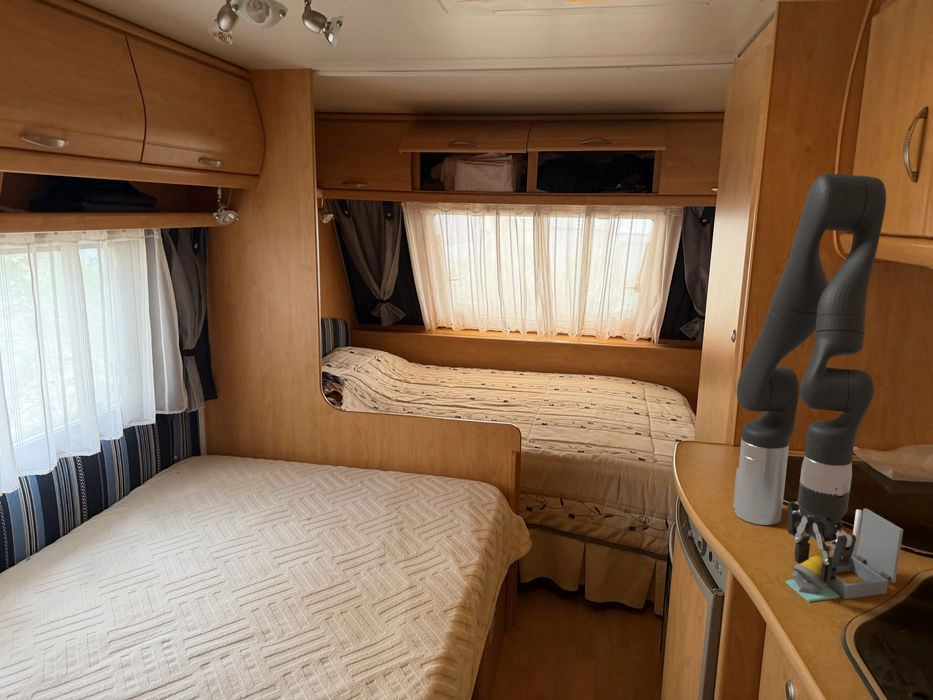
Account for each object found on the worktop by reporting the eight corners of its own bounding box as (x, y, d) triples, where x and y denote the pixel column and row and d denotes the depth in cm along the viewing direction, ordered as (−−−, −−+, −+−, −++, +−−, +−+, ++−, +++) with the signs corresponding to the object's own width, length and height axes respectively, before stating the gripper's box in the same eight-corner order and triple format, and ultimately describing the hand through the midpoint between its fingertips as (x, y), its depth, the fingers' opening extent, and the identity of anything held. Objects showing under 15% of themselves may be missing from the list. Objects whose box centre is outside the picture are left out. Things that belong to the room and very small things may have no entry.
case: (804, 567, 123) (811, 508, 121) (852, 561, 125) (860, 503, 123) (845, 599, 114) (853, 535, 111) (896, 592, 115) (906, 529, 113)
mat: (785, 582, 119) (785, 580, 119) (815, 578, 120) (815, 576, 120) (808, 601, 113) (808, 599, 113) (839, 597, 114) (839, 595, 114)
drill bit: (781, 582, 119) (813, 538, 120) (810, 603, 116) (841, 558, 118) (786, 579, 114) (819, 533, 116) (816, 600, 112) (849, 554, 113)
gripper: (777, 468, 118) (768, 553, 122) (836, 503, 104) (824, 598, 108) (814, 464, 119) (804, 549, 123) (877, 499, 106) (864, 593, 109)
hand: (813, 571), depth 116 cm, fingers open, 6 cm apart
